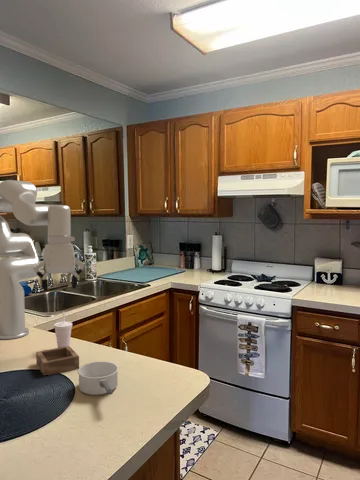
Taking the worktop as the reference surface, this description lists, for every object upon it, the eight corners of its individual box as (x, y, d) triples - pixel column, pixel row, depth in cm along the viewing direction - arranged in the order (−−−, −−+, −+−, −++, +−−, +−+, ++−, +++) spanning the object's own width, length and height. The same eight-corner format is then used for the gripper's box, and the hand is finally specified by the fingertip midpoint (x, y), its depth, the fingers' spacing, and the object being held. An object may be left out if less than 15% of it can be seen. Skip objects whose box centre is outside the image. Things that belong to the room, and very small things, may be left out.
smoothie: (75, 347, 134) (75, 310, 133) (68, 353, 127) (68, 315, 127) (58, 346, 134) (58, 309, 134) (51, 353, 128) (50, 314, 127)
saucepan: (87, 418, 88) (86, 396, 87) (74, 383, 106) (74, 364, 105) (132, 408, 92) (132, 387, 92) (113, 376, 111) (113, 358, 110)
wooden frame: (36, 363, 119) (36, 352, 118) (69, 357, 125) (69, 345, 124) (43, 376, 110) (43, 363, 109) (79, 368, 116) (79, 356, 115)
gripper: (81, 239, 133) (81, 285, 135) (31, 240, 124) (31, 289, 125) (87, 240, 127) (87, 288, 128) (34, 242, 118) (35, 293, 119)
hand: (59, 289), depth 127 cm, fingers open, 9 cm apart
